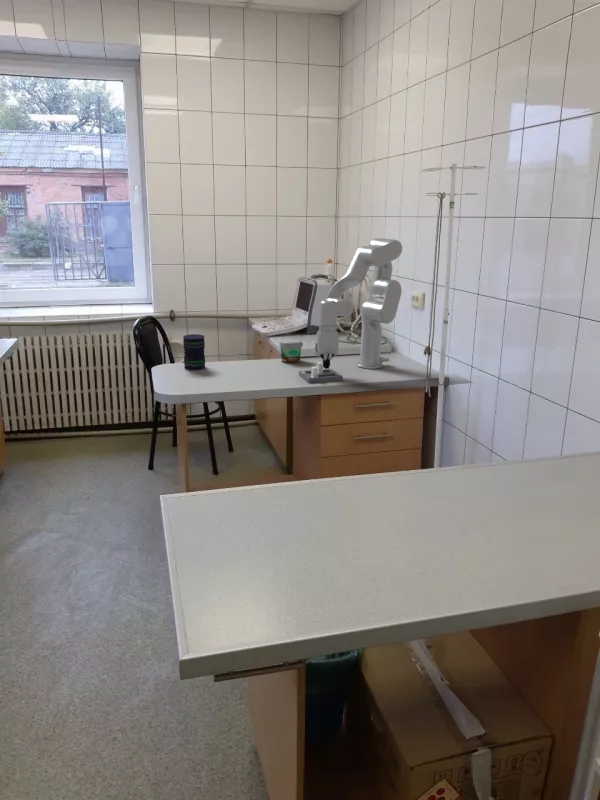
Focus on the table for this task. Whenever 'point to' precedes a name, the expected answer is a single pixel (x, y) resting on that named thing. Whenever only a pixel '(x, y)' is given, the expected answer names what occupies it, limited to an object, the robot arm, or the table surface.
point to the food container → (291, 352)
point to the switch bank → (321, 376)
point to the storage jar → (194, 352)
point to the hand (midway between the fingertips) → (326, 368)
